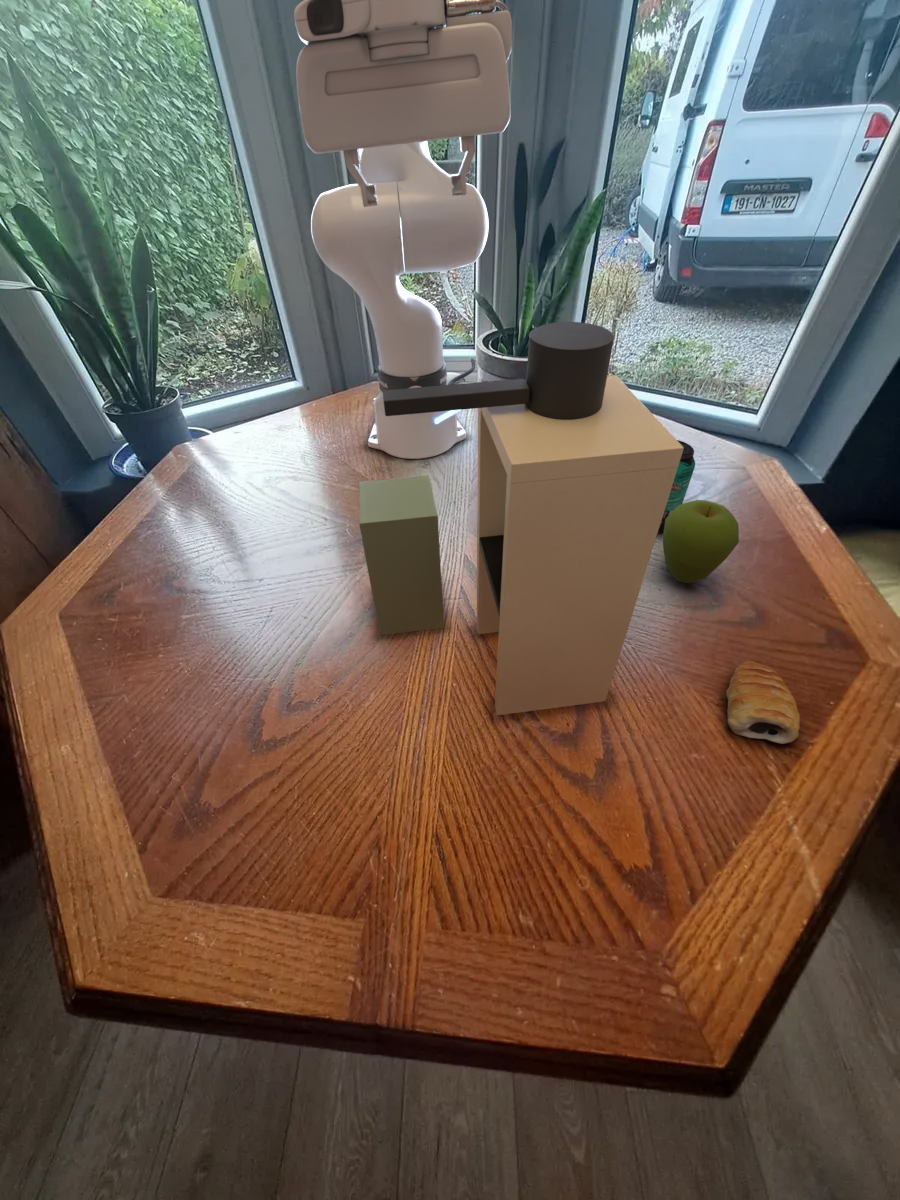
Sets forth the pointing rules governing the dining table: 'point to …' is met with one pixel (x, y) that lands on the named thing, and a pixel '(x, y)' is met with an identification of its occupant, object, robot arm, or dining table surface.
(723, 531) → the apple
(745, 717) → the pastry
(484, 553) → the tall cream box
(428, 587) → the rectangular block
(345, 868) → the dining table surface
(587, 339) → the measuring cup
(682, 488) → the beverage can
